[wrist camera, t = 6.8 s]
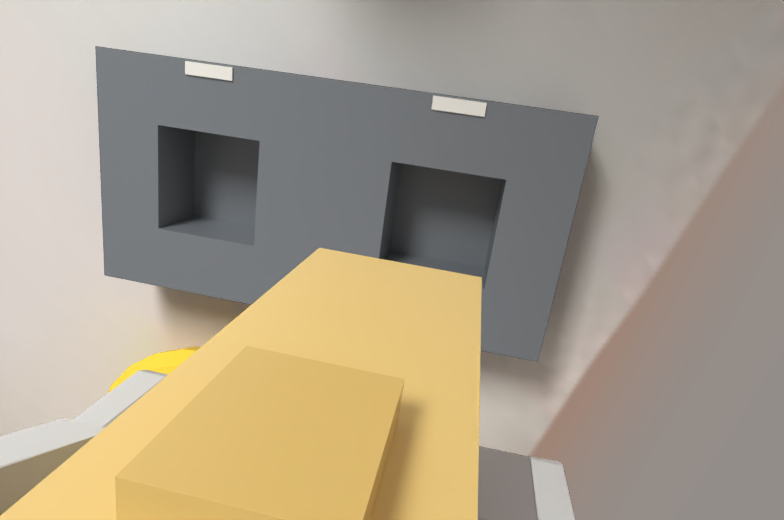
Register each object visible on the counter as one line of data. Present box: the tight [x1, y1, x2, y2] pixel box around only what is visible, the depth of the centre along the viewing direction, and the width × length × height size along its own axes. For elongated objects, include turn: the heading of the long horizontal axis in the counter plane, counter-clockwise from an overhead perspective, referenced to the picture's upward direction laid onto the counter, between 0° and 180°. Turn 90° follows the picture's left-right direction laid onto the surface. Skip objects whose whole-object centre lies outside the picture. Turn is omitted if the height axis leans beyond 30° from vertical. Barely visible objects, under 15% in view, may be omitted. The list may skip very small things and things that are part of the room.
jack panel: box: [95, 46, 599, 362], centre depth 27 cm, size 12×24×4 cm, turn 82°
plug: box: [0, 248, 482, 520], centre depth 9 cm, size 5×4×9 cm
